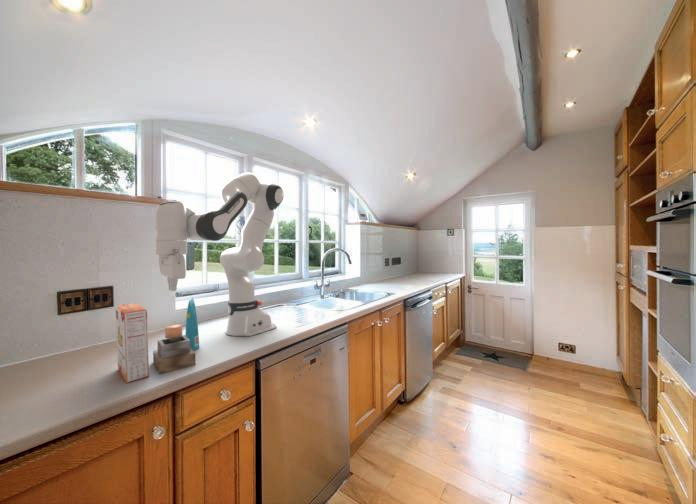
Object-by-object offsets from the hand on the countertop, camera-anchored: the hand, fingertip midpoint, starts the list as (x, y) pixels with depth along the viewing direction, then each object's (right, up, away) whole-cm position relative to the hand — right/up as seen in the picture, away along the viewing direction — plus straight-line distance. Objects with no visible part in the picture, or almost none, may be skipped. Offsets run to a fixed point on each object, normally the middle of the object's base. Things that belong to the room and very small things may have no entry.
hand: (172, 290), depth 93 cm
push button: (0, -17, 0) cm, 17 cm away
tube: (-2, -25, +14) cm, 28 cm away
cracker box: (-9, -25, -6) cm, 27 cm away
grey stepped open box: (0, -25, 0) cm, 25 cm away
